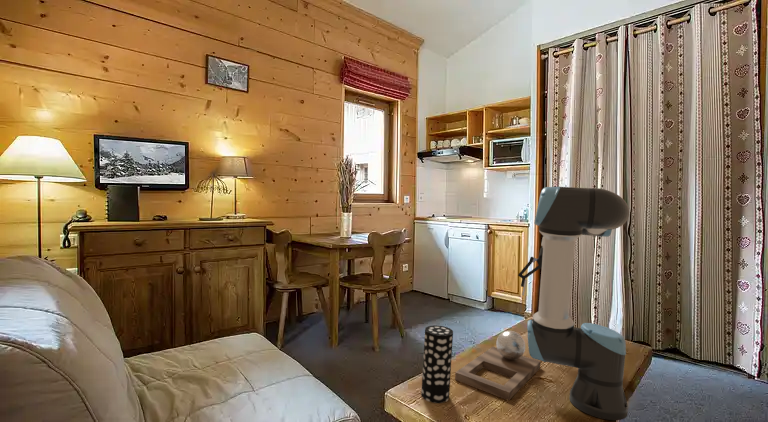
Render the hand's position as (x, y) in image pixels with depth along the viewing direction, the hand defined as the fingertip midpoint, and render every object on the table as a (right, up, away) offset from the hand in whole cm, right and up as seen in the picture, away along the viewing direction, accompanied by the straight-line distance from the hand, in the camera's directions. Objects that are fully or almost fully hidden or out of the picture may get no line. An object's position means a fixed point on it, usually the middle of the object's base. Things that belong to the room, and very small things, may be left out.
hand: (540, 299), depth 155 cm
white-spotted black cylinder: (-48, -20, -41) cm, 66 cm away
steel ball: (-18, -12, -17) cm, 28 cm away
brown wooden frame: (-24, -20, -24) cm, 39 cm away
